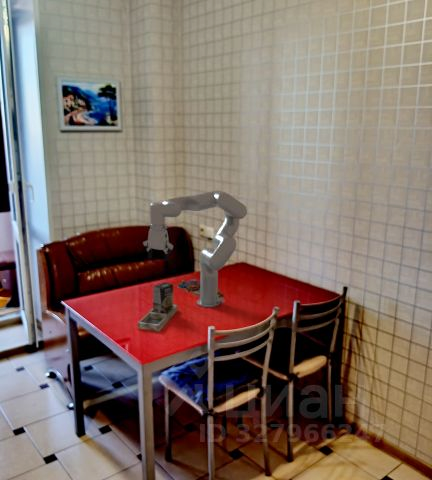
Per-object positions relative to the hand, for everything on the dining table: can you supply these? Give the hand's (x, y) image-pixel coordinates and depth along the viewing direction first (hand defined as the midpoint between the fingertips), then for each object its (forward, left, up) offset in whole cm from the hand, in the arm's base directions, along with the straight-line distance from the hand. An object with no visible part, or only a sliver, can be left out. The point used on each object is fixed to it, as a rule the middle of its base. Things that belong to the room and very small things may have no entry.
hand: (158, 259), depth 236 cm
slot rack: (-4, +10, -29) cm, 30 cm away
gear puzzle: (-13, -38, -29) cm, 50 cm away
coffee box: (-4, +3, -29) cm, 29 cm away
